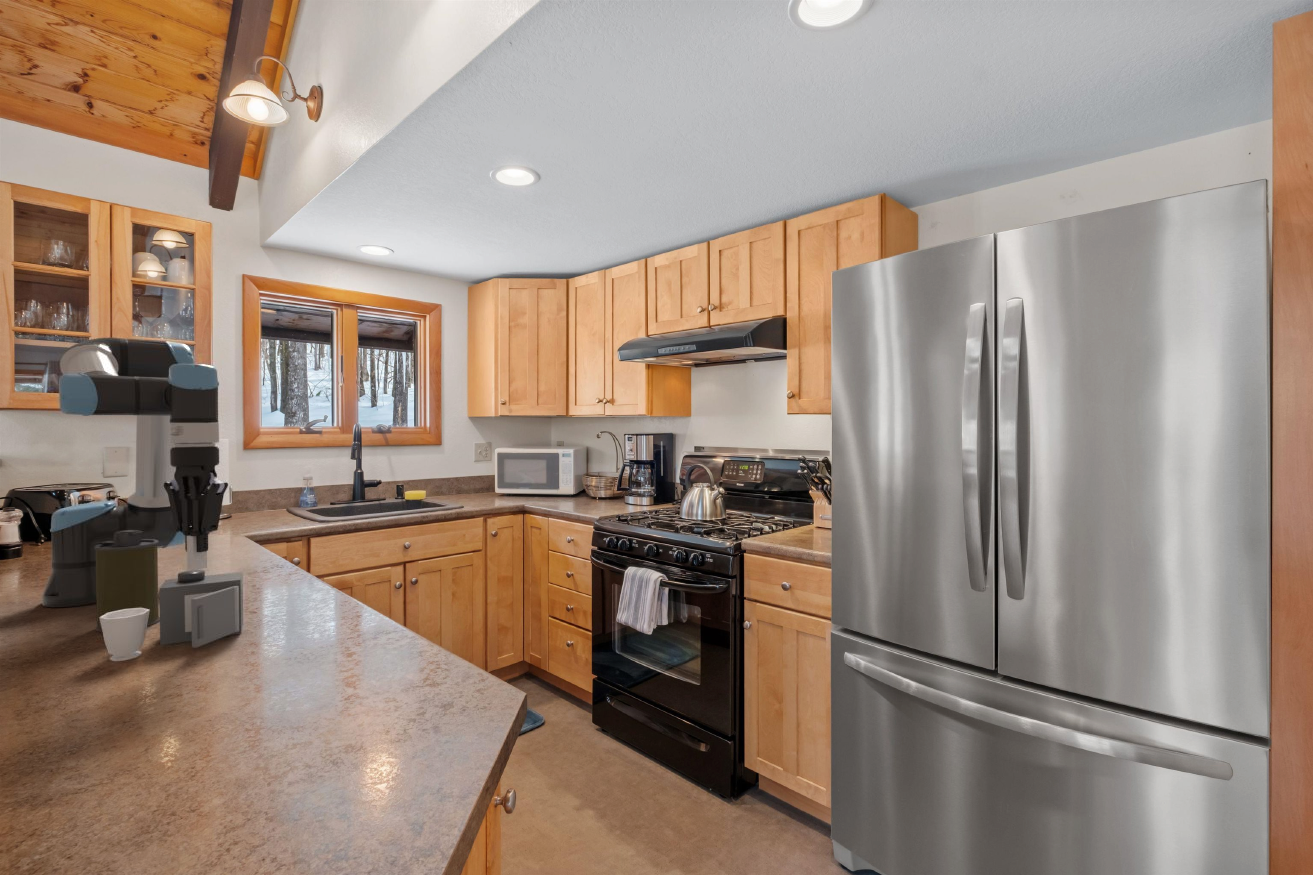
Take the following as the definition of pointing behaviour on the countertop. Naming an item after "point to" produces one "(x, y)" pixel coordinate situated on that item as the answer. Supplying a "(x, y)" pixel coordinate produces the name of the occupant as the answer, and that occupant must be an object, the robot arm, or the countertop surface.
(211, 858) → the countertop surface
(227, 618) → the door
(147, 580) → the canister
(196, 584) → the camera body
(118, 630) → the cup
